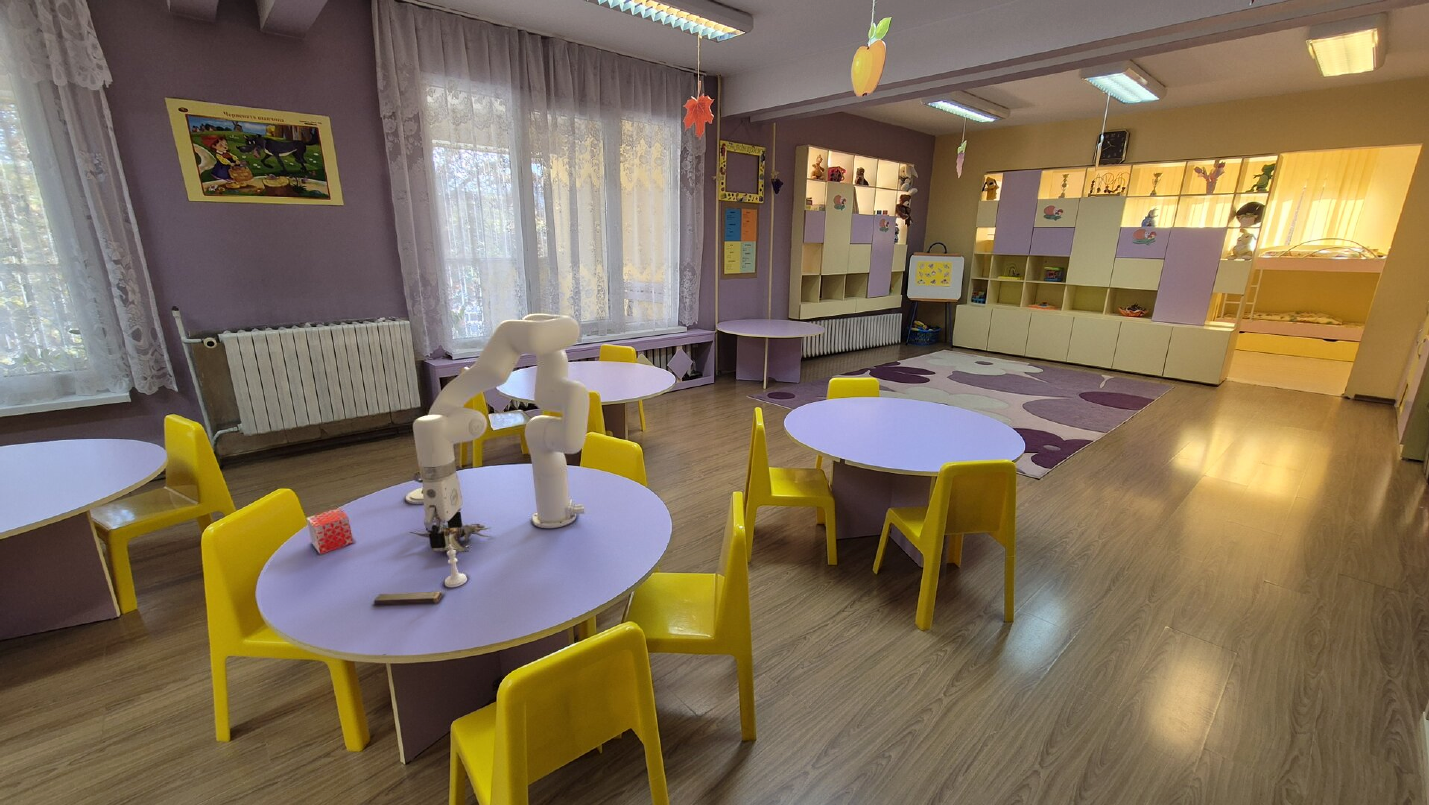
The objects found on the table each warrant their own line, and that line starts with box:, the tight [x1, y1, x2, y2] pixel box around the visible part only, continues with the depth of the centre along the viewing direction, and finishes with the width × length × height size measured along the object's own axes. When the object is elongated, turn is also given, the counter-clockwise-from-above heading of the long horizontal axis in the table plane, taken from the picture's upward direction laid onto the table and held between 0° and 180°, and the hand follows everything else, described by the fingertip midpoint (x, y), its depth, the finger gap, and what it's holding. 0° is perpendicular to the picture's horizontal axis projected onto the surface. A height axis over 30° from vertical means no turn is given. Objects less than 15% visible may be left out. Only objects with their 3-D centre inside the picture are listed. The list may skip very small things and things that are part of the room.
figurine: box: [409, 521, 492, 553], centre depth 153 cm, size 20×6×17 cm
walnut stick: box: [373, 590, 443, 606], centre depth 130 cm, size 14×3×1 cm, turn 93°
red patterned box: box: [306, 507, 355, 555], centre depth 155 cm, size 8×8×8 cm
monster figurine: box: [405, 471, 424, 505], centre depth 183 cm, size 12×12×10 cm
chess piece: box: [444, 544, 468, 588], centre depth 136 cm, size 5×5×10 cm
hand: (447, 537), depth 134 cm, fingers open, 9 cm apart
